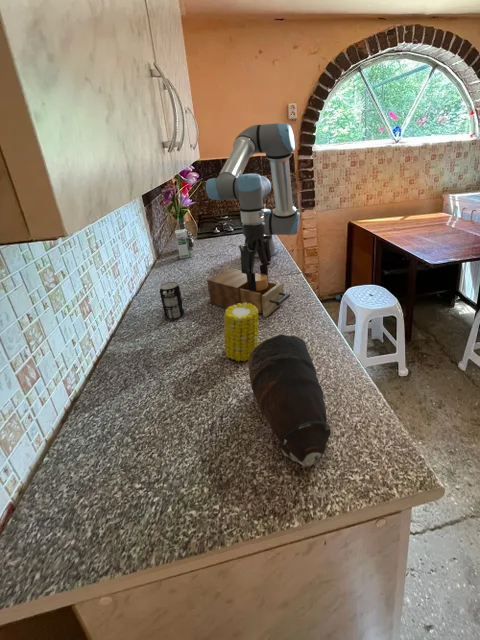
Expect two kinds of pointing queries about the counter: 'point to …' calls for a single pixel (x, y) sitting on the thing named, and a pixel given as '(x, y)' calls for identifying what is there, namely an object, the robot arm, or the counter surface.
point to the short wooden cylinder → (261, 281)
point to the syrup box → (183, 243)
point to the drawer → (264, 297)
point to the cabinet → (226, 287)
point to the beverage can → (171, 300)
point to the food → (241, 331)
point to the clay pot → (290, 396)
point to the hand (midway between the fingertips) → (258, 285)
